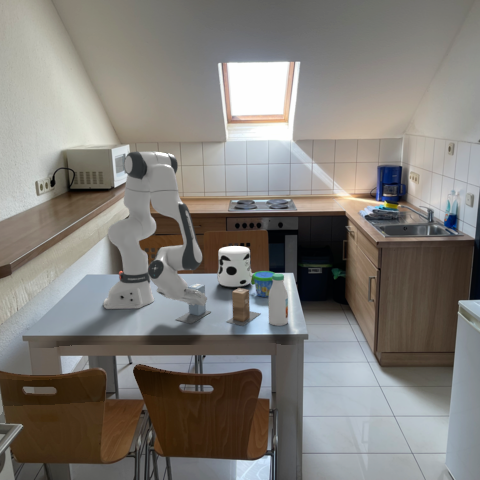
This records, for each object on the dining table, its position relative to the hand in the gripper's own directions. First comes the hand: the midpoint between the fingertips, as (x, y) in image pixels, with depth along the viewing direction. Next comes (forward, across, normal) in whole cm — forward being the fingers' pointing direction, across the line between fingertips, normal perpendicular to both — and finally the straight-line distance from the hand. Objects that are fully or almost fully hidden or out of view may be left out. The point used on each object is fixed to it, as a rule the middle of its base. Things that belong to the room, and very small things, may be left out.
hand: (192, 303), depth 197 cm
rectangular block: (+6, 0, +2) cm, 7 cm away
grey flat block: (+4, 0, +4) cm, 6 cm away
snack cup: (+30, -14, -22) cm, 40 cm away
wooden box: (+9, -20, -1) cm, 22 cm away
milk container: (+34, +6, -26) cm, 44 cm away
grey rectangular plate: (+10, -20, -2) cm, 22 cm away
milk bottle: (+12, -34, -4) cm, 37 cm away
